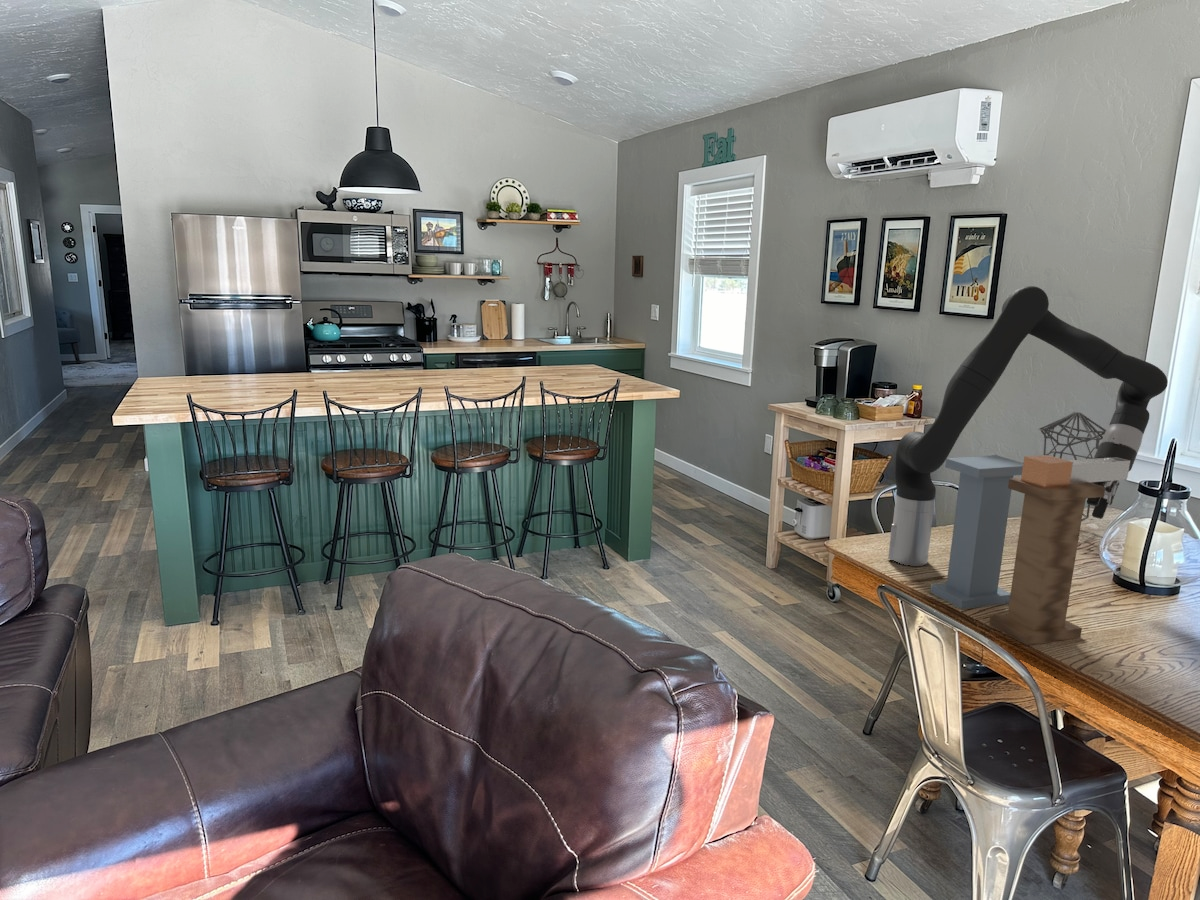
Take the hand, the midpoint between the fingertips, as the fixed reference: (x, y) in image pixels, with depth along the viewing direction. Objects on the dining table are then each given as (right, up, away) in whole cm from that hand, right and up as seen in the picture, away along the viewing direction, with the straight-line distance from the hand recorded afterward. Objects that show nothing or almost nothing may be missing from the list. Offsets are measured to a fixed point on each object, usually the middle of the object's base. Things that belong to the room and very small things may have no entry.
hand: (1094, 511), depth 184 cm
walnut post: (-22, -24, -15) cm, 36 cm away
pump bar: (-16, +8, -20) cm, 27 cm away
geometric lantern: (+22, -10, +53) cm, 58 cm away
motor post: (-27, -20, +2) cm, 34 cm away
